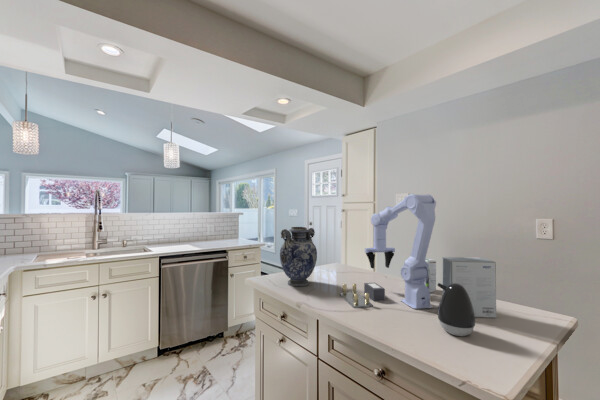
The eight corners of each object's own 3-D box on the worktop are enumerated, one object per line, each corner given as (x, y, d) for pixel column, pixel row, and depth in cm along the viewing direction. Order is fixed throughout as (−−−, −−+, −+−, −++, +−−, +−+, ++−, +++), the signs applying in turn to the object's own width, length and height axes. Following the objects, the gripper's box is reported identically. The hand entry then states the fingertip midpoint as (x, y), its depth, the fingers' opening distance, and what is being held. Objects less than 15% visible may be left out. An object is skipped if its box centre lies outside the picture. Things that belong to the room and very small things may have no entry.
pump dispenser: (441, 321, 92) (441, 277, 92) (477, 331, 86) (477, 283, 86) (433, 332, 84) (433, 283, 84) (472, 344, 78) (472, 291, 78)
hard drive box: (484, 310, 103) (484, 257, 103) (497, 318, 95) (497, 261, 95) (441, 308, 104) (442, 256, 105) (451, 316, 97) (451, 260, 97)
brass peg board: (373, 306, 105) (373, 294, 105) (353, 308, 104) (353, 296, 104) (356, 293, 121) (356, 282, 121) (339, 294, 119) (339, 283, 119)
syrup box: (417, 289, 127) (417, 258, 127) (426, 287, 130) (426, 257, 130) (427, 293, 122) (427, 260, 122) (436, 291, 124) (436, 259, 125)
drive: (384, 300, 112) (384, 288, 112) (373, 301, 111) (373, 289, 111) (374, 293, 121) (374, 282, 121) (364, 294, 120) (364, 282, 120)
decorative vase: (302, 275, 149) (303, 224, 149) (326, 284, 135) (327, 227, 135) (269, 282, 136) (270, 227, 135) (292, 293, 121) (293, 230, 121)
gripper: (389, 237, 134) (389, 265, 133) (362, 238, 131) (362, 266, 131) (397, 239, 127) (397, 268, 127) (368, 240, 124) (368, 269, 124)
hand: (379, 267), depth 128 cm, fingers open, 7 cm apart
